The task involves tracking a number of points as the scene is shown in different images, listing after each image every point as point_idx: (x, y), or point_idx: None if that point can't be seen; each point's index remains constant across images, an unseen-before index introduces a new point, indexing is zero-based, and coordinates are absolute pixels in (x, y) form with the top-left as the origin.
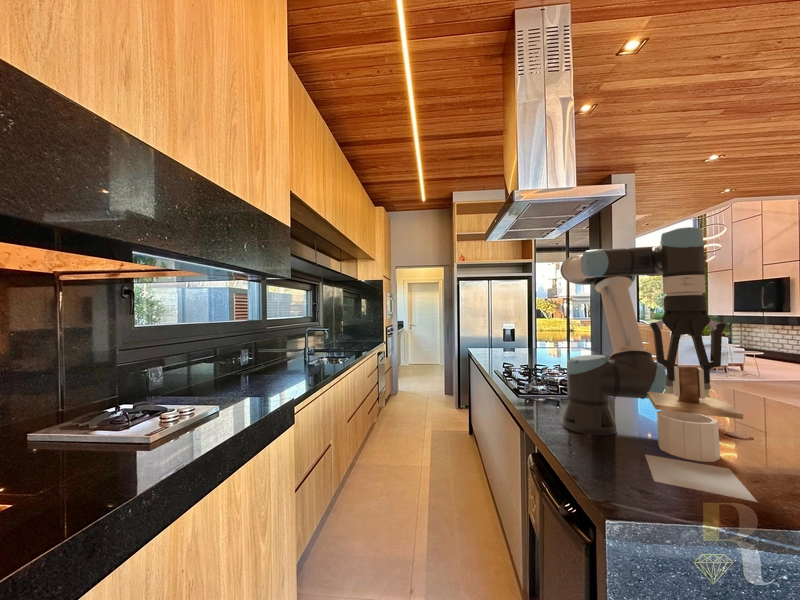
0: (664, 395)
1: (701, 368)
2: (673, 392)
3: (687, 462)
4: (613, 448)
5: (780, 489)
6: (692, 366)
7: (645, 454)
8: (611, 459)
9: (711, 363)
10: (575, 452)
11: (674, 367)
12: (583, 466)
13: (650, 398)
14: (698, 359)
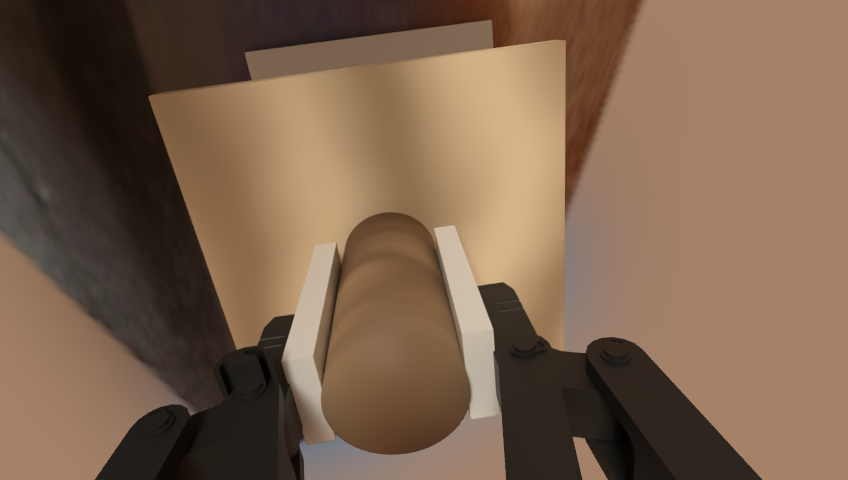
0: (265, 163)
1: (495, 374)
2: (315, 252)
3: (376, 46)
4: (130, 36)
5: (583, 100)
6: (435, 373)
7: (246, 52)
8: (164, 168)
9: (577, 429)
10: (45, 181)
11: (304, 424)
12: (121, 279)
13: (209, 256)
14: (501, 397)
